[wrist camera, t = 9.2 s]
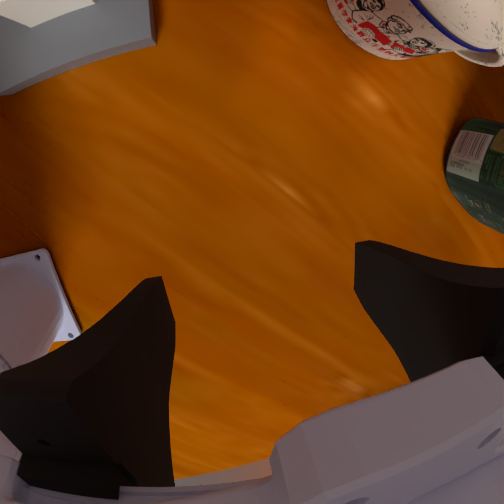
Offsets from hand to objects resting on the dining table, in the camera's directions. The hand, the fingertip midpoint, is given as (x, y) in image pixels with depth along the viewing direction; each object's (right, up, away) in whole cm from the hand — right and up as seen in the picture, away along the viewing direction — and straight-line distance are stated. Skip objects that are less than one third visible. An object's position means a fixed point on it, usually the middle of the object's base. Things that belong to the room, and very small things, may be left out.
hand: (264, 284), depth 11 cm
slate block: (-12, +18, +2) cm, 22 cm away
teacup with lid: (+10, +18, +5) cm, 21 cm away
